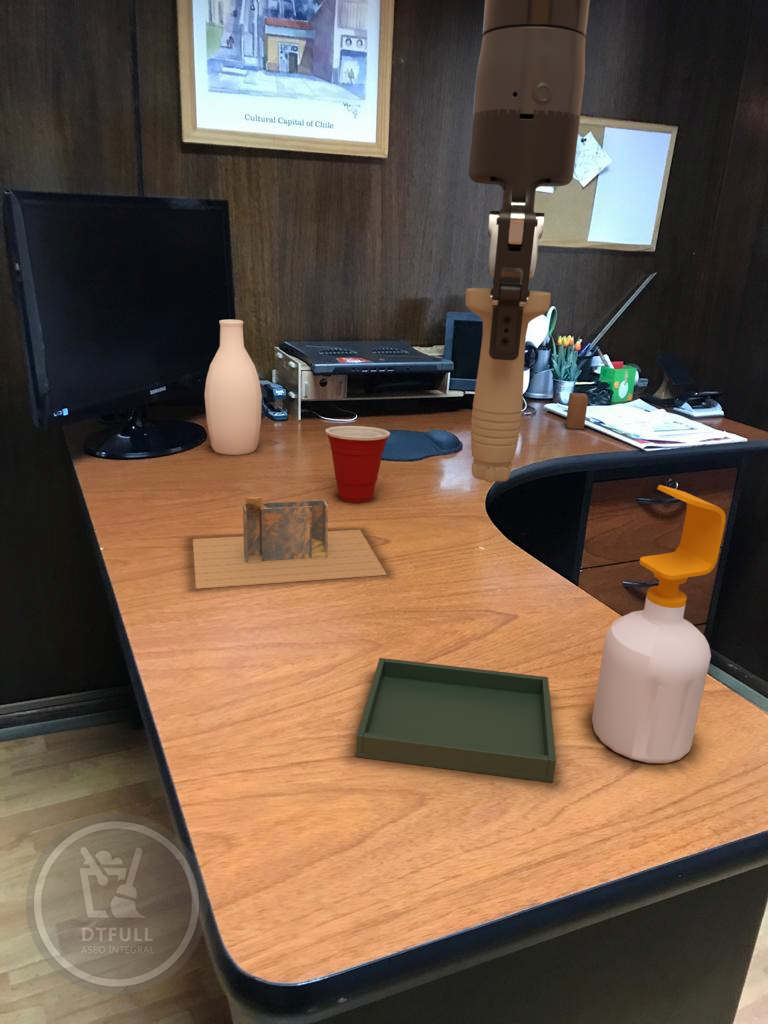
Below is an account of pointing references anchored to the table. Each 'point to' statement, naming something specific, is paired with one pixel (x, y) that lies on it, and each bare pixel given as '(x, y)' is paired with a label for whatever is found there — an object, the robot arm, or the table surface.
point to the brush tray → (459, 720)
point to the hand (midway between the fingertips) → (503, 352)
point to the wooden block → (576, 410)
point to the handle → (498, 391)
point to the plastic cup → (356, 460)
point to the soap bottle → (660, 651)
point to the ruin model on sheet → (283, 548)
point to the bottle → (233, 395)
